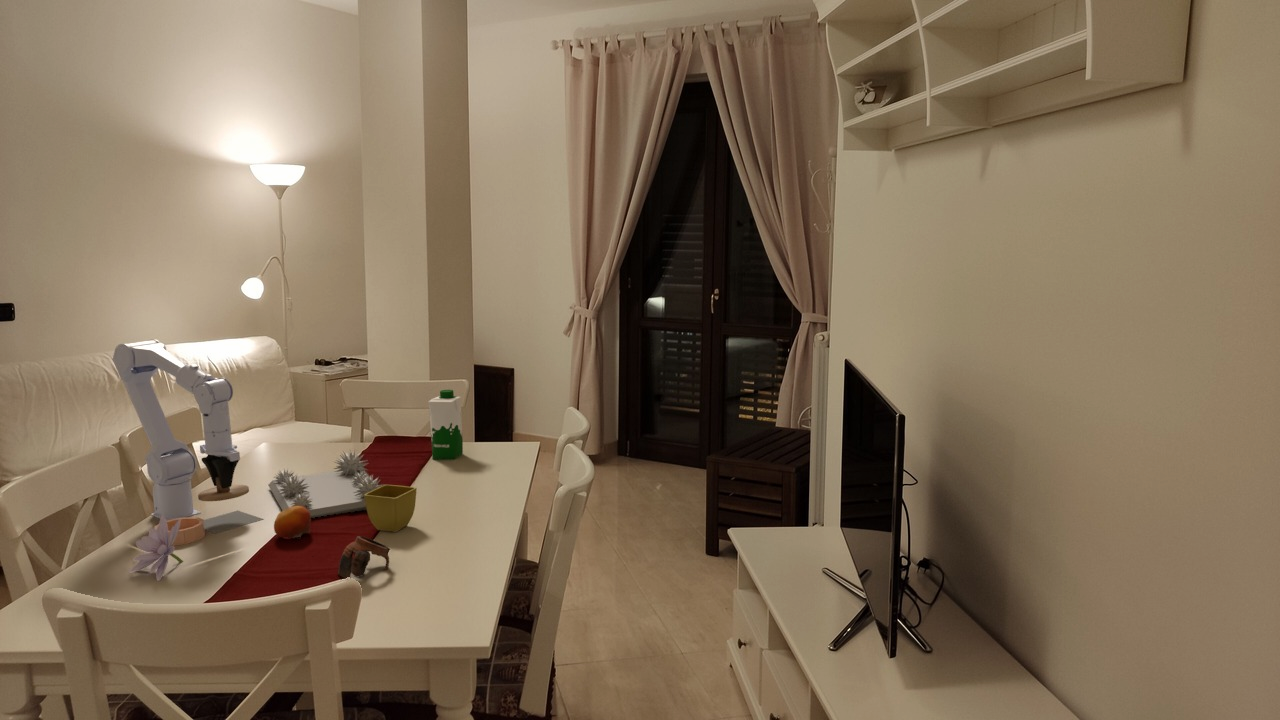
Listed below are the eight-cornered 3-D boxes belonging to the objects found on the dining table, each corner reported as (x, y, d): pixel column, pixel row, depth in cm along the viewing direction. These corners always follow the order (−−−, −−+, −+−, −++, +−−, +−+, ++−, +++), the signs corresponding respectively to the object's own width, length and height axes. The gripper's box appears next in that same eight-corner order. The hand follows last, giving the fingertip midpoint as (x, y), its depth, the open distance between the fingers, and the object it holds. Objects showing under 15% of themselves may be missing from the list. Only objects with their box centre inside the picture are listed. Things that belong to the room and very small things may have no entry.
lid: (189, 497, 210) (187, 479, 209) (234, 485, 219) (232, 468, 218) (213, 503, 203) (211, 485, 203) (258, 491, 212) (256, 474, 211)
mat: (189, 525, 211) (189, 523, 211) (237, 512, 220) (237, 510, 220) (215, 535, 204) (215, 533, 204) (264, 520, 213) (263, 519, 213)
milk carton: (466, 453, 274) (463, 389, 271) (455, 460, 265) (452, 395, 262) (439, 452, 275) (436, 389, 272) (428, 460, 266) (424, 394, 263)
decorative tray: (268, 491, 240) (265, 455, 238) (365, 476, 252) (363, 441, 251) (288, 527, 210) (285, 486, 208) (397, 508, 222) (395, 469, 221)
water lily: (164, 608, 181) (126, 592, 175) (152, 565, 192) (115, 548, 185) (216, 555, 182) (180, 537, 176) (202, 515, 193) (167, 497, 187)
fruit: (306, 537, 197) (287, 506, 197) (281, 553, 199) (261, 522, 199) (326, 525, 205) (308, 495, 204) (301, 540, 207) (283, 511, 206)
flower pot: (419, 523, 208) (417, 486, 207) (398, 536, 200) (395, 497, 199) (388, 520, 211) (385, 484, 210) (365, 532, 203) (362, 494, 202)
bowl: (147, 541, 201) (145, 526, 200) (191, 529, 208) (190, 514, 208) (168, 550, 195) (166, 535, 194) (213, 537, 202) (211, 522, 202)
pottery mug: (336, 569, 183) (353, 531, 184) (380, 586, 184) (396, 548, 186) (329, 576, 171) (348, 535, 173) (376, 593, 172) (394, 553, 174)
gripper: (250, 430, 207) (255, 486, 209) (218, 423, 216) (223, 477, 218) (220, 436, 202) (226, 494, 204) (189, 429, 210) (194, 484, 213)
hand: (222, 486), depth 211 cm, fingers closed on lid, 3 cm apart
